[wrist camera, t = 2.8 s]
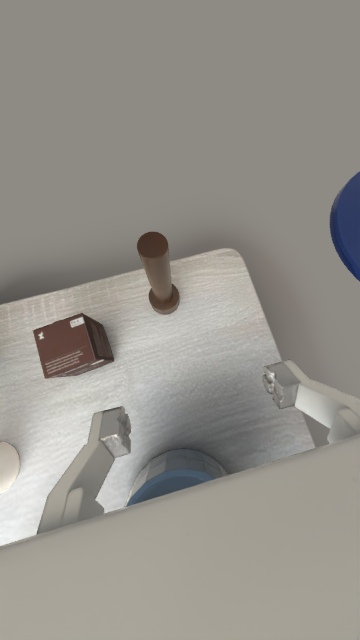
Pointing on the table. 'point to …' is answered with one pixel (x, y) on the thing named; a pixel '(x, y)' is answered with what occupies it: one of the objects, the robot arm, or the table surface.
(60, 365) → the box
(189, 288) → the table surface
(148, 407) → the table surface
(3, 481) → the candle
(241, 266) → the table surface
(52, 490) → the robot arm
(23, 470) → the table surface
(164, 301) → the brown cylindrical post
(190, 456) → the bowl
